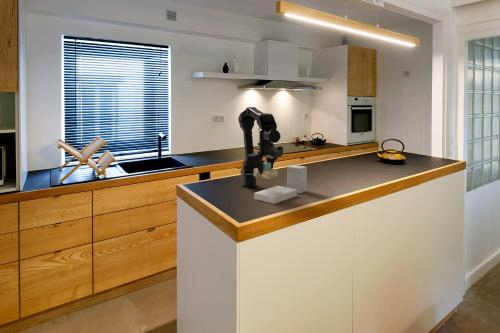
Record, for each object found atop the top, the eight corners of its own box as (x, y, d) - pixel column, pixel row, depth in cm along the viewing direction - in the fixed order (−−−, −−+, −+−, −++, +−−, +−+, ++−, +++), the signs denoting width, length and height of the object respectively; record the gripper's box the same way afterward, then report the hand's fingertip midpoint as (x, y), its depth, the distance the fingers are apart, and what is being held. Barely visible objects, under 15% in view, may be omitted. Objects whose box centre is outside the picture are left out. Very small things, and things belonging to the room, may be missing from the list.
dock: (253, 198, 151) (253, 192, 150) (277, 191, 164) (277, 185, 163) (273, 203, 143) (274, 197, 142) (296, 195, 155) (297, 189, 155)
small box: (306, 191, 163) (307, 166, 161) (299, 193, 159) (300, 168, 156) (293, 188, 169) (294, 164, 166) (286, 191, 164) (286, 166, 162)
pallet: (253, 176, 154) (253, 168, 153) (261, 174, 158) (261, 167, 157) (269, 179, 147) (269, 171, 146) (277, 176, 151) (277, 169, 150)
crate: (259, 169, 151) (259, 163, 151) (264, 168, 154) (264, 162, 154) (265, 170, 149) (265, 164, 148) (271, 169, 152) (271, 163, 151)
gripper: (265, 143, 137) (265, 178, 140) (291, 140, 150) (290, 172, 153) (246, 142, 145) (247, 175, 147) (273, 138, 158) (273, 169, 161)
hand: (265, 173), depth 152 cm, fingers closed on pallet, 6 cm apart
